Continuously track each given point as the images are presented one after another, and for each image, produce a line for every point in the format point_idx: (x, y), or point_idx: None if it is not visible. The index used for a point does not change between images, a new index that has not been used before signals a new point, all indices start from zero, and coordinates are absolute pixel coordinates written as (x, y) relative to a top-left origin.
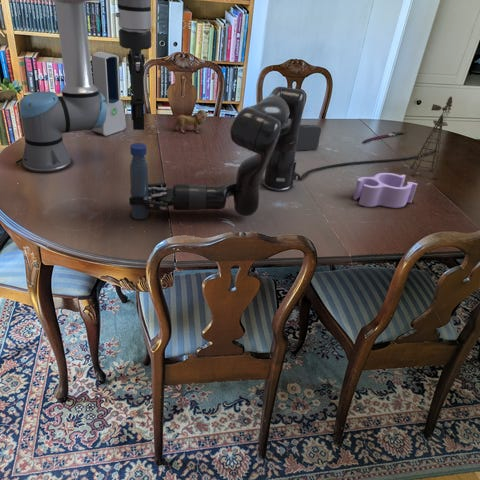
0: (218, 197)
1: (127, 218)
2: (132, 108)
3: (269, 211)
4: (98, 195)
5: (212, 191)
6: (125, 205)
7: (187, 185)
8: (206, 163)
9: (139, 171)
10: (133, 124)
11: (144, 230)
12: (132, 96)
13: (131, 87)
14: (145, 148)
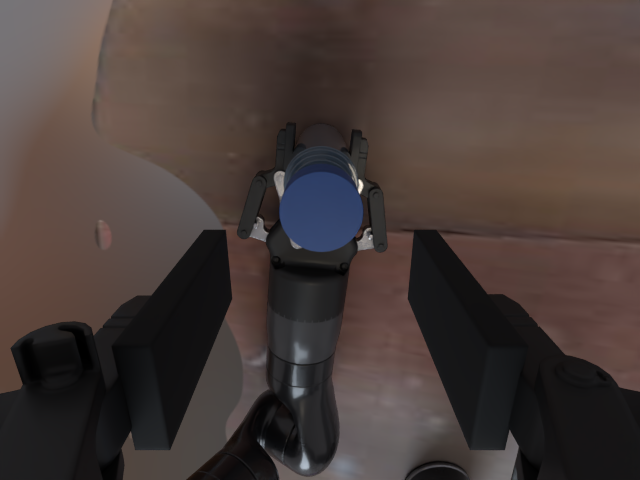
0: (268, 377)
1: (305, 109)
2: (440, 278)
3: None
4: (469, 13)
5: (280, 374)
6: (385, 106)
7: (306, 318)
8: (608, 363)
9: (283, 183)
10: (193, 246)
11: (236, 154)
12: (483, 354)
13: (558, 444)
14: (301, 244)
